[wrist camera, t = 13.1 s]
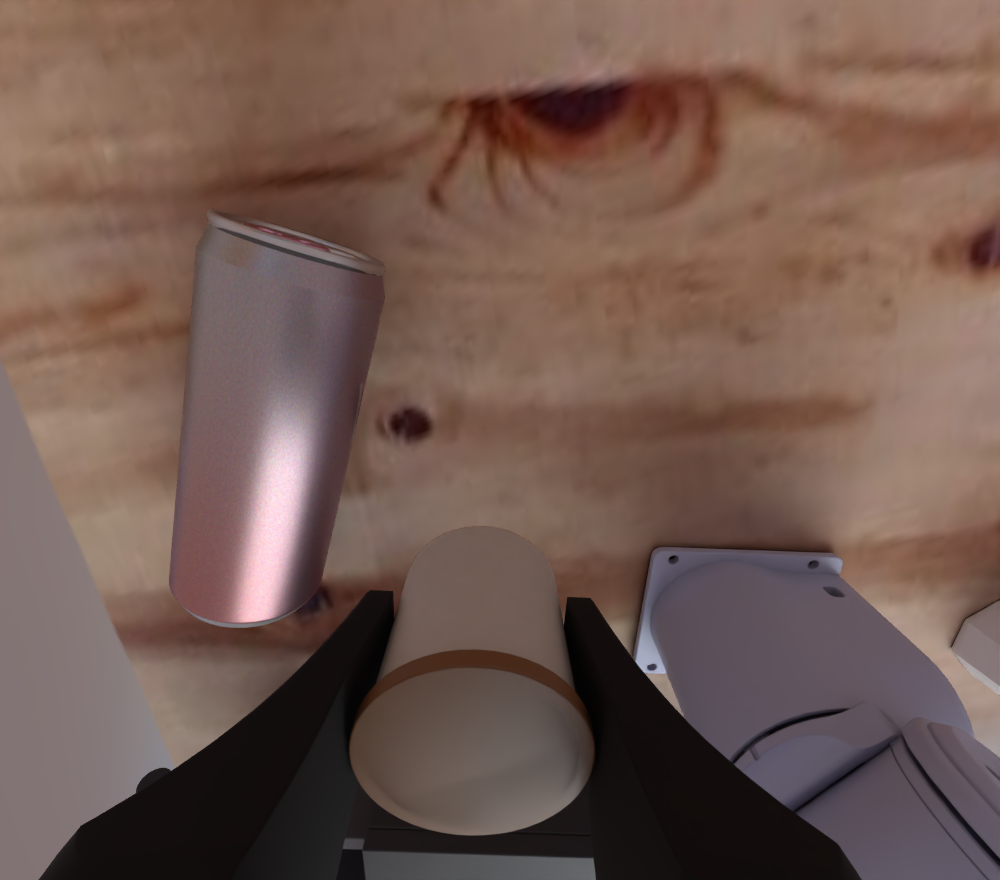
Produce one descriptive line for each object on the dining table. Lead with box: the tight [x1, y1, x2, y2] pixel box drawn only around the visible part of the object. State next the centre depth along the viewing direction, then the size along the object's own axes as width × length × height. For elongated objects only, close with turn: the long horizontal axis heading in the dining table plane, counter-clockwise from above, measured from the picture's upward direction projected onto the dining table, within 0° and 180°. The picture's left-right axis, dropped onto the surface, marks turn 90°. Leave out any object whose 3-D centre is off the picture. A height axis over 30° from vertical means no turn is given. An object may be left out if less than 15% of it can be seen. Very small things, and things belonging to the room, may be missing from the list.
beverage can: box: [169, 209, 386, 628], centre depth 18 cm, size 6×6×15 cm
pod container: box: [349, 526, 596, 835], centre depth 11 cm, size 5×5×5 cm
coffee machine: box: [362, 788, 596, 880], centre depth 24 cm, size 12×10×9 cm
